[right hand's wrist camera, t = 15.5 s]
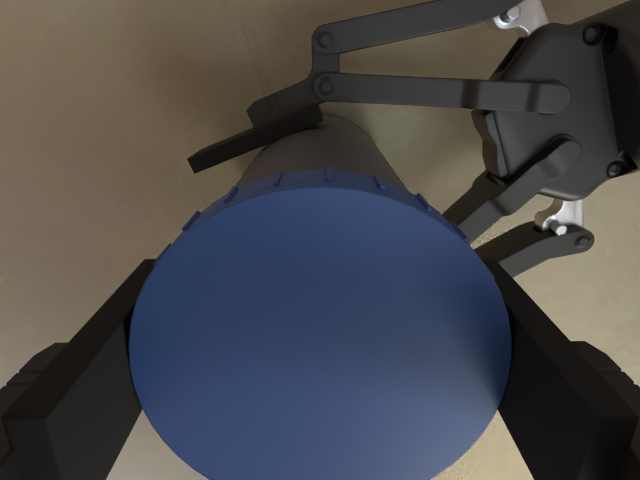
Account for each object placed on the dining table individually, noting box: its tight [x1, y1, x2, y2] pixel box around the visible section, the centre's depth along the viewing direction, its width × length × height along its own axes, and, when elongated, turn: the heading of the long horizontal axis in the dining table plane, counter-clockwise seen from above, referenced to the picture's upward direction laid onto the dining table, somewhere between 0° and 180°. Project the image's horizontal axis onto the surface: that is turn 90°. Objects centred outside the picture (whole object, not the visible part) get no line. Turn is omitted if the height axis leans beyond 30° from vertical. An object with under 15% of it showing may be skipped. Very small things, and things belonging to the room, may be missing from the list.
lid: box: [128, 166, 512, 480], centre depth 11 cm, size 9×9×2 cm
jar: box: [236, 114, 409, 192], centre depth 20 cm, size 8×8×19 cm
